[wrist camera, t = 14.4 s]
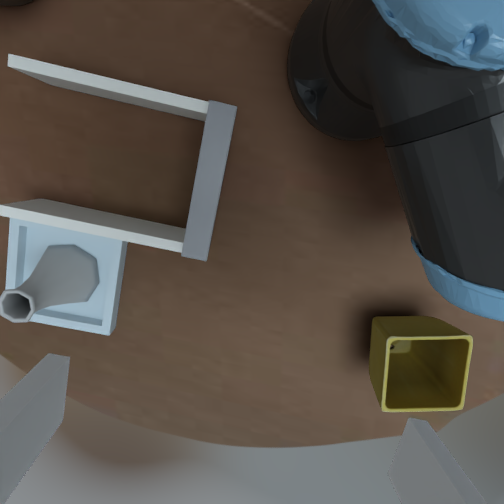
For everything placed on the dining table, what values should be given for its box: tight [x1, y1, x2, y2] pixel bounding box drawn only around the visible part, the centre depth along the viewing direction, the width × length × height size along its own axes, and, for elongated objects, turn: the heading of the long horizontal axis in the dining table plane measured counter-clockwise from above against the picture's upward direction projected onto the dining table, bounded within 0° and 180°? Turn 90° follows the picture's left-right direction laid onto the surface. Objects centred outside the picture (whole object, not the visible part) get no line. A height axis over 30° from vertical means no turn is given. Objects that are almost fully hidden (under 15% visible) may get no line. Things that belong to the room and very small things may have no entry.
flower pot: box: [369, 316, 473, 412], centre depth 40 cm, size 9×9×9 cm
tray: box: [5, 218, 128, 335], centre depth 40 cm, size 12×12×2 cm
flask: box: [0, 245, 100, 323], centre depth 36 cm, size 7×7×10 cm
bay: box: [0, 54, 237, 261], centre depth 35 cm, size 14×20×8 cm
